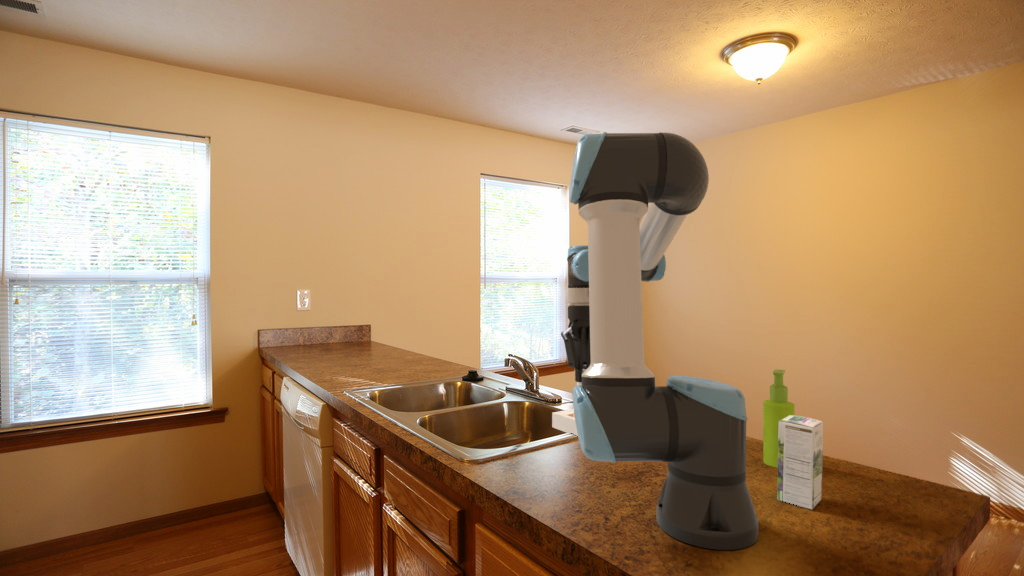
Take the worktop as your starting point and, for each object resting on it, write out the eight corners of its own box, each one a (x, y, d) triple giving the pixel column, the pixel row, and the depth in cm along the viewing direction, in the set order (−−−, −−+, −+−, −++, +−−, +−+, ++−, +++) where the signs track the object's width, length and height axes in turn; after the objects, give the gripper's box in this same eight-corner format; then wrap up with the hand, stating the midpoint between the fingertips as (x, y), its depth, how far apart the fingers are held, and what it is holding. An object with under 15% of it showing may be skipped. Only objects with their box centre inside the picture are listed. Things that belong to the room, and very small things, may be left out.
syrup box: (787, 491, 93) (787, 413, 93) (823, 501, 89) (823, 419, 89) (776, 500, 89) (776, 419, 89) (814, 511, 85) (814, 426, 85)
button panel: (588, 440, 124) (588, 424, 124) (552, 427, 135) (552, 412, 135) (657, 423, 138) (657, 409, 138) (619, 413, 150) (619, 399, 150)
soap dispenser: (795, 460, 109) (795, 369, 109) (793, 470, 103) (793, 374, 103) (765, 455, 112) (765, 367, 112) (761, 465, 106) (761, 371, 106)
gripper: (572, 305, 125) (573, 399, 125) (610, 304, 132) (610, 393, 132) (553, 304, 131) (554, 394, 131) (590, 303, 138) (590, 389, 138)
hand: (582, 394), depth 131 cm, fingers closed
